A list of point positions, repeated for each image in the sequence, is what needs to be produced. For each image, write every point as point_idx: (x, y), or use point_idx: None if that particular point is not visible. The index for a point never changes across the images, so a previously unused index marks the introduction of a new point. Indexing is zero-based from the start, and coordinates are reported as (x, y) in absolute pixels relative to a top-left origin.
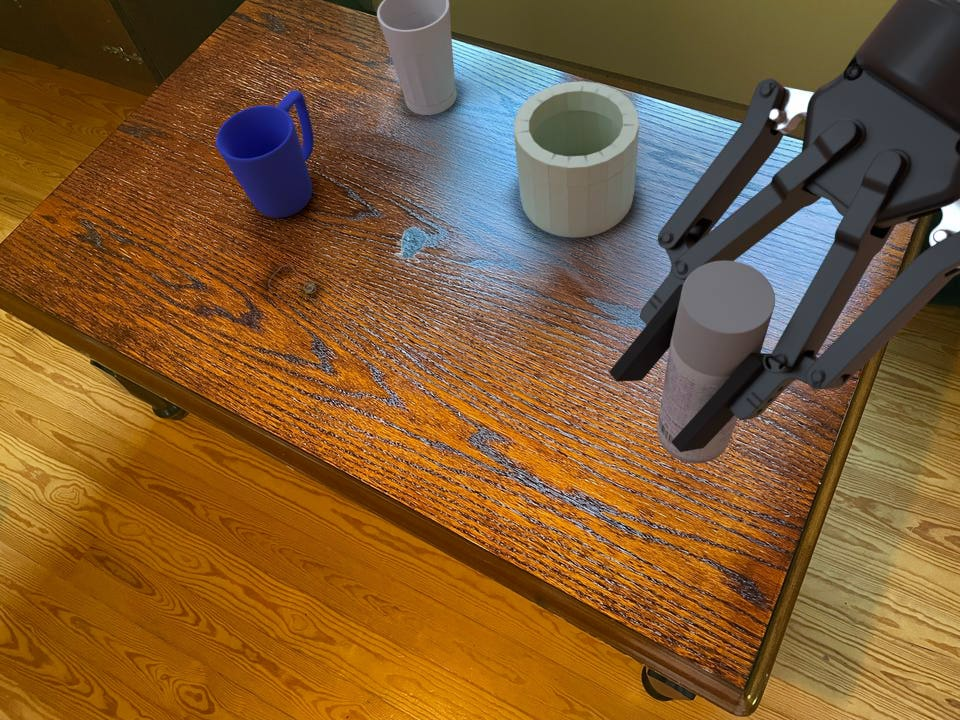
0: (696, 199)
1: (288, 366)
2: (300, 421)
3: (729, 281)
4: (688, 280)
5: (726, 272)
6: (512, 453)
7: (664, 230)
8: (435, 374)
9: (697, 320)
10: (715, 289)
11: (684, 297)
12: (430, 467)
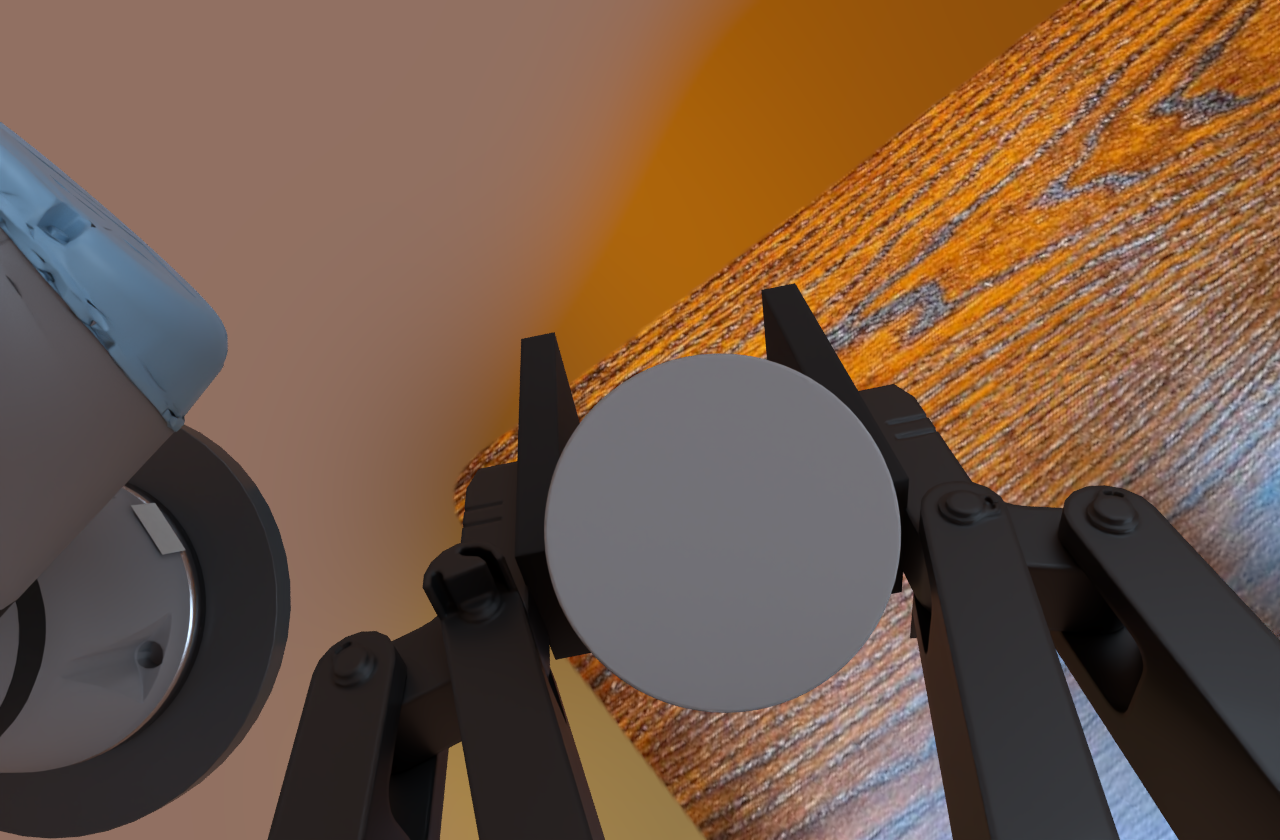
0: (1246, 668)
1: (1197, 45)
2: (1077, 40)
3: (780, 570)
4: (853, 429)
5: (826, 583)
6: (883, 337)
7: (1150, 518)
8: (1081, 272)
9: (668, 366)
10: (767, 499)
11: (785, 375)
12: (911, 209)
